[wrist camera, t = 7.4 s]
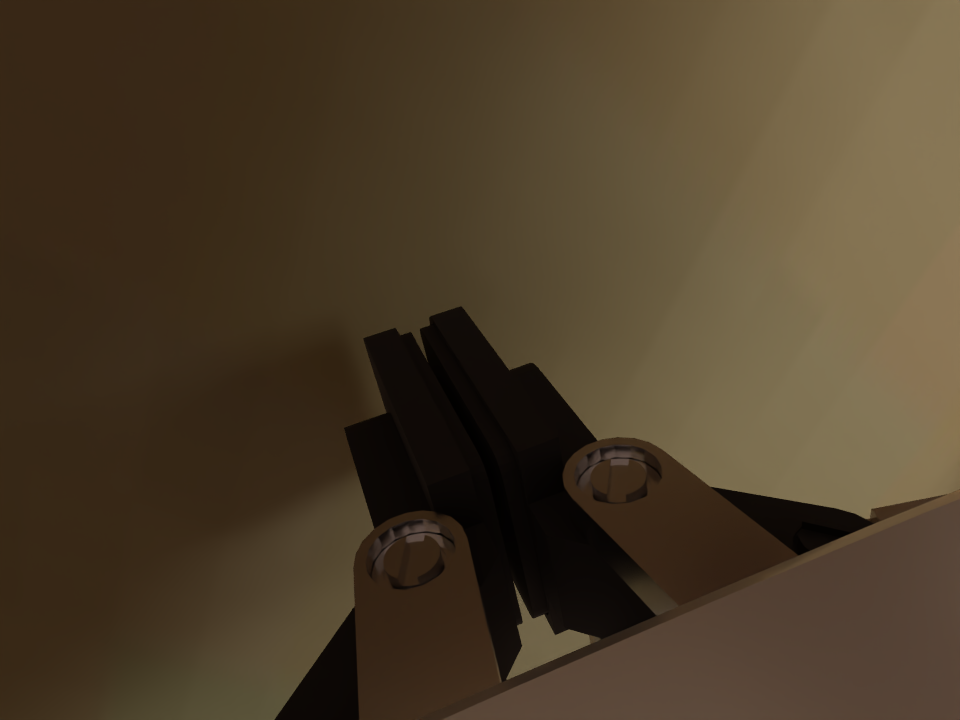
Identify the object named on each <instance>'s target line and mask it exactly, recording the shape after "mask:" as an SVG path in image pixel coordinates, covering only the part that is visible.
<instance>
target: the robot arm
mask: <svg viewBox="0 0 960 720" xmlns="http://www.w3.org/2000/svg"><path fill="white" fill-rule="evenodd" d="M429 320H430V326H427V327H424V328H421V329H420V333H421V338H422V341H423V345H424V349H425V353H426V356H427V360H428V362H427V360H426V358H425V356H424V355H423V353H422V351H421V349H420V347H419V346H418V344H417V342H416V340H415V338H414V337H413V335H412V333H411V332H409V333H406V334H403V335H399V333H398V331H397V329H396V328H393V329H390V330H387V331H384V332H381V333H378V334H375V335H372V336H369V337H366V338H364V342H365V346H366V349H367V352H368V356H369V359H370V362H371V365H372V368H373V371H374V374H375V378H376V381H377V384H378V387H379V390H380V393H381V397H382V400H383V403H384V406H385V409H386V412H387V413H385V414H382V415H380V416H377V417H374V418H371V419H368V420H365V421H362V422H360V423H357V424H354V425H351V426H348V427H345V428H344V430H345V433H346V437H347V440H348V443H349V447H350V450H351V453H352V456H353V460H354V463H355V466H356V470H357V473H358V476H359V480H360V483H361V486H362V489H363V493H364V496H365V499H366V503H367V506H368V509H369V512H370V516H371V519H372V522H373V526H374V530H373V531H372V532H371V533H370V534H369V535H368V536H367V537H366V538H365V539H364V540H363V541H362V543H361V545H360V547H359V549H358V551H357V552H356V555H355V561H354V567H353V572H354V598H355V607H354V608H353V609H352V611H351V612H350V614H349V615H348V616H347V618H346V619H345V621H344V622H343V624H342V625H341V626H340V628H339V629H338V631H337V632H336V633H335V635H334V636H333V638H332V639H331V640H330V642H329V643H328V645H327V646H326V648H325V649H324V650H323V652H322V653H321V655H320V656H319V657H318V659H317V660H316V662H315V663H314V665H313V666H312V667H311V669H310V670H309V672H308V673H307V674H306V676H305V677H304V679H303V680H302V682H301V683H300V684H299V686H298V687H297V689H296V690H295V691H294V693H293V694H292V696H291V697H290V699H289V700H288V701H287V703H286V704H285V706H284V707H283V708H282V710H281V711H280V713H279V714H278V716H277V717H276V718H275V720H960V490H957V491H955V492H952V493H950V494H946V495H941V496H936V497H931V498H926V499H921V500H916V501H910V502H905V503H900V504H895V505H890V506H885V507H880V508H875V509H871V515H870V519H864V518H862V517H860V516H858V515H856V514H854V513H850V512H847V511H843V510H839V509H836V508H830V507H824V506H819V505H813V504H807V503H801V502H795V501H790V500H784V499H778V498H772V497H766V496H761V495H755V494H749V493H743V492H738V491H732V490H726V489H720V488H714V487H710V486H708V485H707V484H706V483H705V482H703V481H702V480H701V479H699V478H698V477H697V476H696V475H694V474H693V473H692V472H690V471H689V470H688V469H687V468H685V467H684V466H683V465H681V464H680V463H679V462H678V461H676V460H675V459H674V458H672V457H671V456H670V455H669V454H667V453H666V452H665V451H663V450H662V449H660V448H659V447H657V446H655V445H653V444H652V443H650V442H647V441H643V440H639V439H636V438H623V437H616V438H609V439H602V440H599V441H597V440H596V438H595V437H594V436H593V435H592V433H591V432H590V431H589V430H588V429H587V427H586V426H585V425H584V424H583V422H582V421H581V420H580V419H579V417H578V416H577V415H576V414H575V413H574V411H573V410H572V409H571V408H570V406H569V405H568V404H567V403H566V402H565V400H564V399H563V398H562V397H561V395H560V394H559V393H558V392H557V390H556V389H555V388H554V387H553V386H552V384H551V383H550V382H549V381H548V379H547V378H546V377H545V376H544V375H543V373H542V372H541V371H540V370H539V368H538V367H537V366H536V365H535V364H534V363H529V364H526V365H523V366H520V367H517V368H514V369H512V370H508V368H507V367H506V365H505V364H504V363H503V361H502V360H501V359H500V357H499V356H498V355H497V353H496V352H495V351H494V349H493V348H492V347H491V345H490V344H489V343H488V341H487V340H486V338H485V337H484V336H483V334H482V333H481V332H480V330H479V329H478V328H477V326H476V325H475V324H474V322H473V321H472V320H471V318H470V317H469V316H468V314H467V313H466V311H465V310H464V309H463V308H462V307H457V308H454V309H451V310H448V311H445V312H442V313H439V314H436V315H433V316H430V317H429ZM513 581H514V583H515V585H516V587H517V589H518V591H519V593H520V595H521V597H522V599H523V601H524V603H525V605H526V607H527V609H528V611H529V613H530V615H531V617H532V618H536V617H538V616H541V615H543V614H545V616H546V618H547V620H548V622H549V624H550V626H551V628H552V630H553V632H554V634H555V635H556V634H559V633H561V632H563V631H566V630H568V629H570V630H574V631H577V632H581V633H584V634H588V635H589V637H590V643H591V644H590V645H588V646H585V647H583V648H581V649H578V650H576V651H574V652H571V653H569V654H567V655H564V656H562V657H560V658H557V659H555V660H553V661H550V662H548V663H546V664H543V665H541V666H539V667H536V668H534V669H532V670H529V671H527V672H525V673H522V674H520V675H518V676H515V677H513V678H511V679H509V680H506V678H507V676H508V674H509V672H510V670H511V668H512V666H513V664H514V661H515V659H516V657H517V655H518V653H519V651H520V649H521V647H522V644H521V640H520V636H519V632H518V628H517V625H519V624H522V622H523V621H522V616H521V612H520V608H519V604H518V600H517V596H516V591H515V587H514V583H513Z"/></svg>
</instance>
